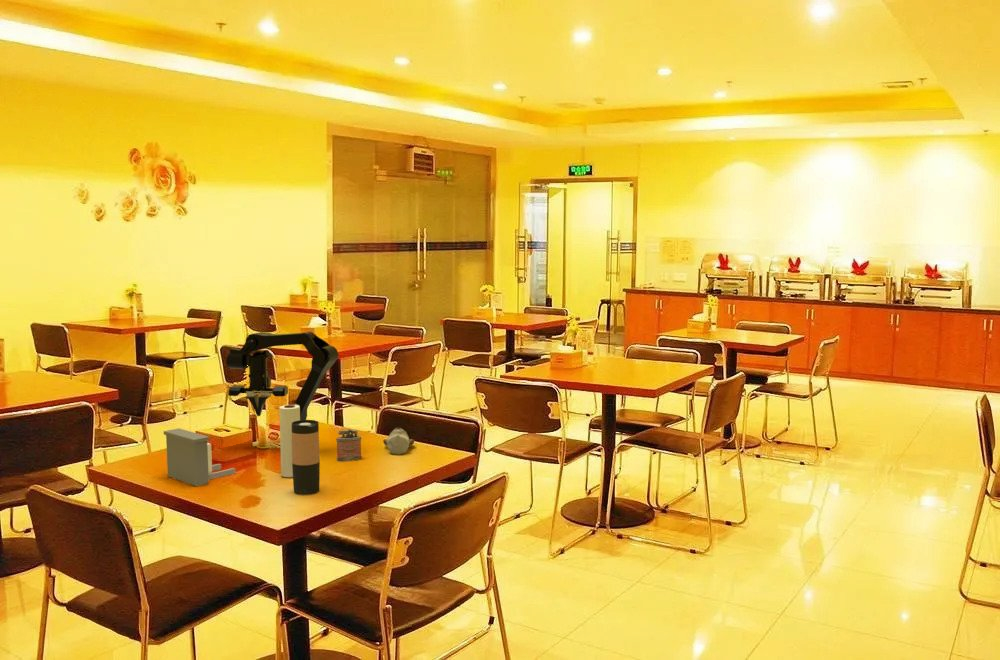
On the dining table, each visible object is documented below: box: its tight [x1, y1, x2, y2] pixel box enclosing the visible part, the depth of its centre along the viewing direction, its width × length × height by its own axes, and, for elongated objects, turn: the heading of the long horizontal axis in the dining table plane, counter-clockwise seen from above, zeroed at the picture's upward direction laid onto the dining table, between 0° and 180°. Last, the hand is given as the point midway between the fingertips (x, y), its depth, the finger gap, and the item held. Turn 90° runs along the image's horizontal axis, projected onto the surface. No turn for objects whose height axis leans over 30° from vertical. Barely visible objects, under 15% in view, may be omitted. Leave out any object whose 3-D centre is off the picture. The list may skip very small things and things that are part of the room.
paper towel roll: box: [278, 403, 300, 478], centre depth 262 cm, size 7×6×21 cm
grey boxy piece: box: [163, 428, 236, 487], centre depth 261 cm, size 16×17×14 cm
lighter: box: [335, 428, 362, 462], centre depth 281 cm, size 8×3×10 cm, turn 108°
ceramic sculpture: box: [382, 426, 415, 455], centre depth 293 cm, size 11×9×15 cm
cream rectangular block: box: [207, 442, 213, 474], centre depth 260 cm, size 4×6×10 cm
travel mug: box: [292, 419, 321, 496], centre depth 246 cm, size 8×8×20 cm
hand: (258, 415), depth 291 cm, fingers closed
